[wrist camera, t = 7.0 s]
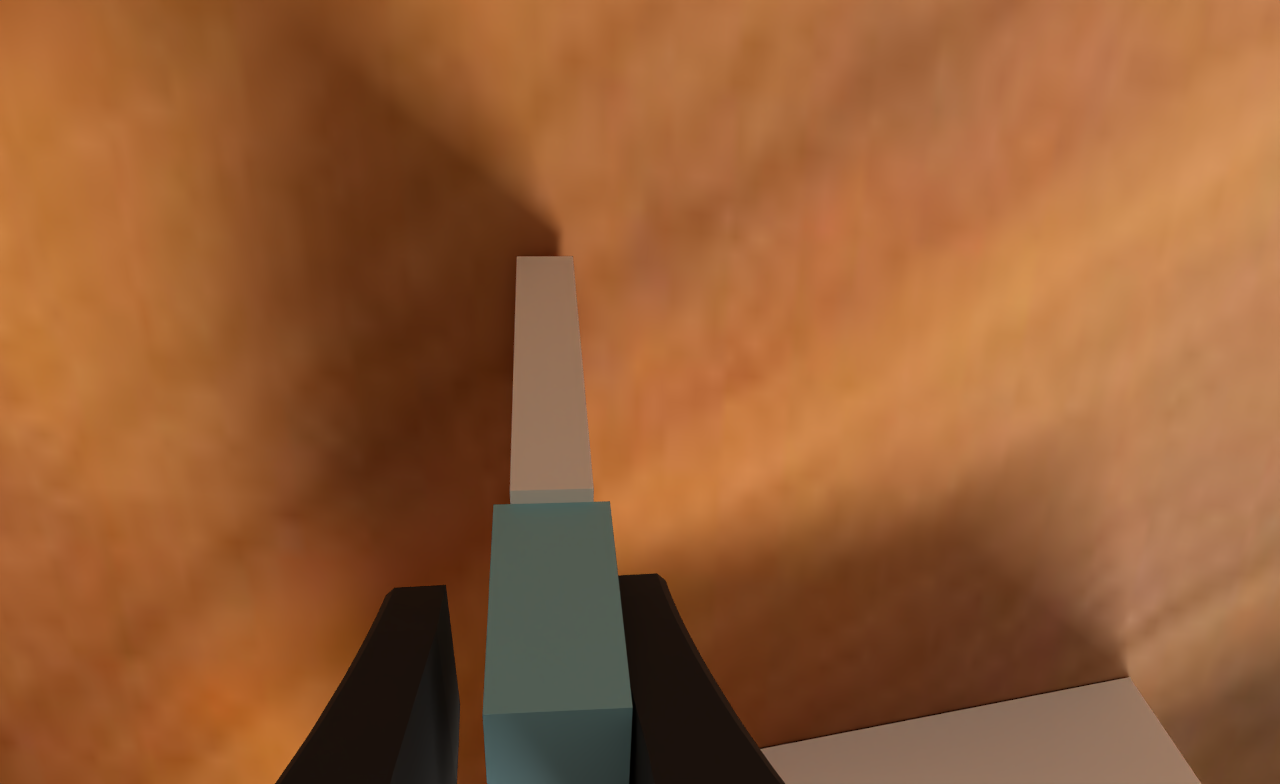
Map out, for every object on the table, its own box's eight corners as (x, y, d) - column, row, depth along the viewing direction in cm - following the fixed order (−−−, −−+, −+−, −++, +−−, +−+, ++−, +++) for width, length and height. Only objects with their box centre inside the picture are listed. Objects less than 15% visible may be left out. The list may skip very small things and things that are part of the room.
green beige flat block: (579, 771, 25) (604, 1289, 17) (523, 774, 25) (518, 1298, 16) (583, 255, 18) (633, 693, 9) (505, 256, 18) (482, 699, 9)
